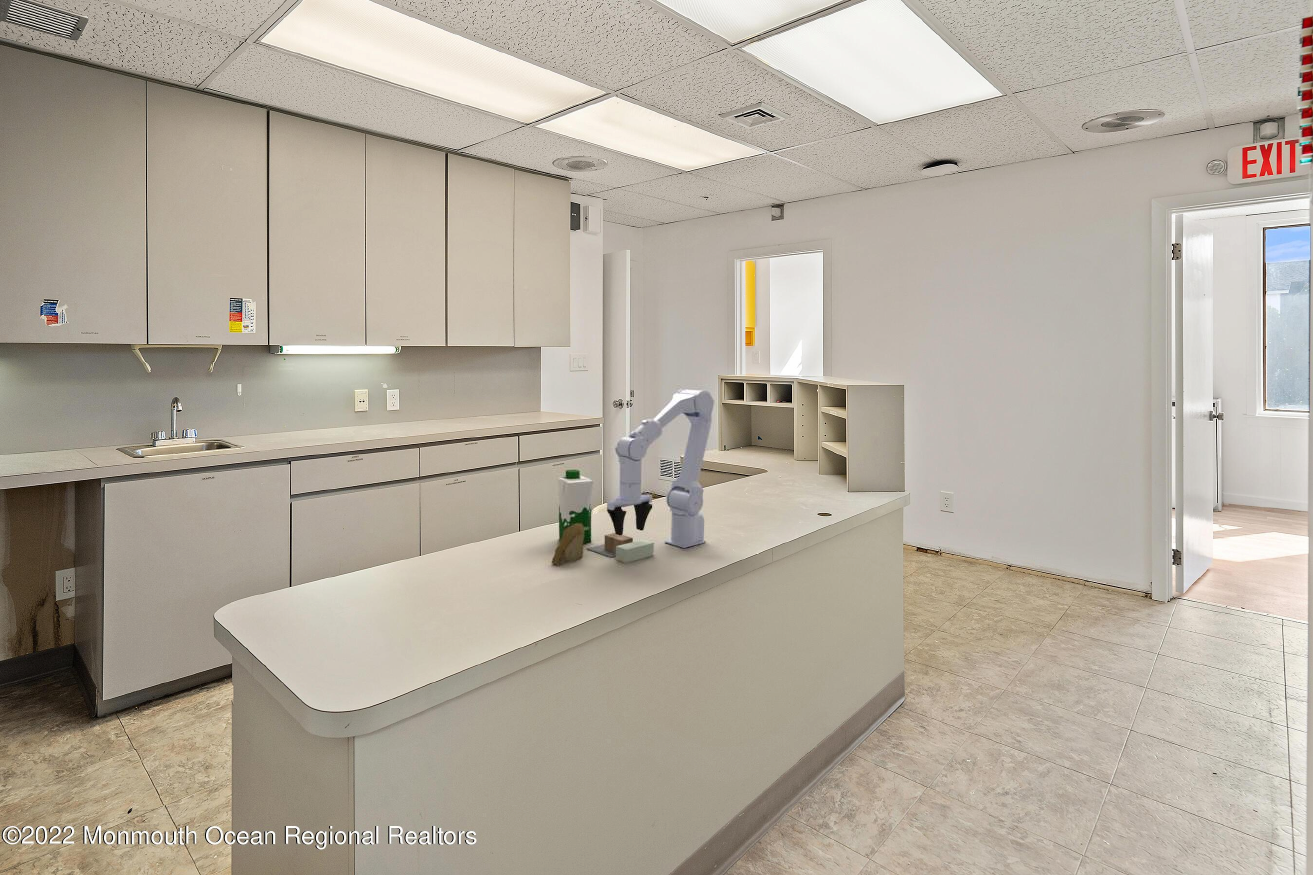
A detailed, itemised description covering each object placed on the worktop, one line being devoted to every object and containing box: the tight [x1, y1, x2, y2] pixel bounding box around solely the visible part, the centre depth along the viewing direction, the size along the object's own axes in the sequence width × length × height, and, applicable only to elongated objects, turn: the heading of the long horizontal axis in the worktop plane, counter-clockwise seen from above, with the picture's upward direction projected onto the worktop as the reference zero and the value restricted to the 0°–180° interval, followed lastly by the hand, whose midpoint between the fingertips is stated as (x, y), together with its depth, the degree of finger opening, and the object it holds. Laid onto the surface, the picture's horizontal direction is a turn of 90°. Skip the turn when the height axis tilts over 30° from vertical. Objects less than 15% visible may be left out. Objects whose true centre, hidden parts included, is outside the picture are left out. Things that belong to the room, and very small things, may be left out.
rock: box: [550, 523, 584, 566], centre depth 178 cm, size 11×9×10 cm
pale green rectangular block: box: [615, 539, 655, 564], centre depth 182 cm, size 10×4×4 cm, turn 135°
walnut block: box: [603, 532, 634, 553], centre depth 187 cm, size 4×4×7 cm
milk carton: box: [557, 469, 594, 544], centre depth 196 cm, size 9×9×20 cm
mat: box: [586, 543, 616, 558], centre depth 189 cm, size 11×10×1 cm
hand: (629, 532), depth 183 cm, fingers open, 7 cm apart
